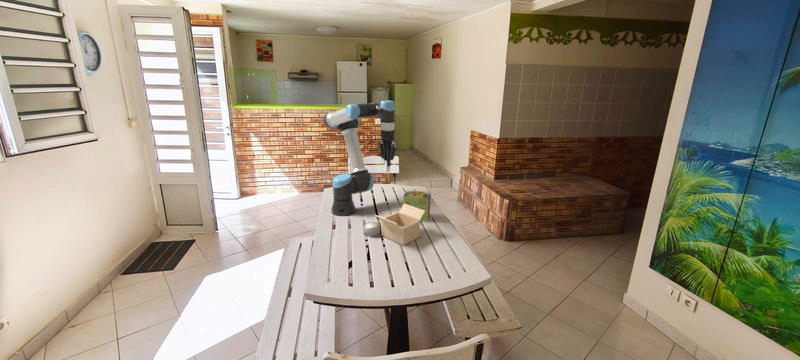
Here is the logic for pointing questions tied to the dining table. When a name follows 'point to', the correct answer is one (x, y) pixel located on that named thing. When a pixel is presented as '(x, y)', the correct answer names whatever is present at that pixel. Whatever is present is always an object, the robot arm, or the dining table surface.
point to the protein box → (418, 202)
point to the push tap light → (371, 229)
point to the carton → (397, 234)
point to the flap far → (412, 211)
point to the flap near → (388, 221)
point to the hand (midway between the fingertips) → (387, 171)
